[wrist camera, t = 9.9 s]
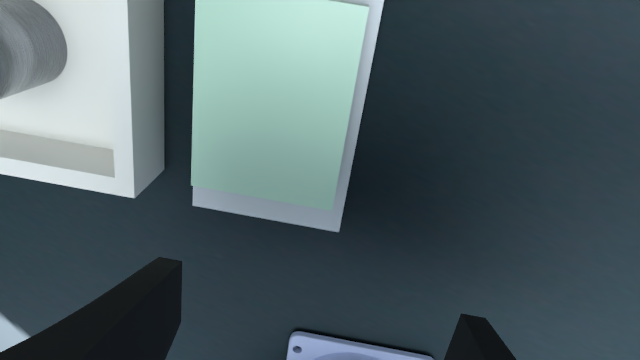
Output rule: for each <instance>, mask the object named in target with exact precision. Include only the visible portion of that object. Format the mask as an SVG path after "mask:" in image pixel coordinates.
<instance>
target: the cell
mask: <svg viewBox="0 0 640 360" xmlns="http://www.w3.org/2000/svg"><path fill="white" fill-rule="evenodd" d="M66 62H67V44H66V40H65V37H64V34H63V32H62V29H61V27H60V26H59V24H58V22H57V21H56V20H55V18H54V17H53V16H52V15H51V14H50V13H49V12H48V11H47V10H46V9H45V8H44V7H43V6H41V5H40V4H38V3H37V2H35V1H33V0H0V99H3V98H6V97H9V96H11V95H14V94H17V93H20V92H23V91H26V90H28V89H31V88H34V87H37V86H40V85H43V84H46V83H48V82H51V81H53V80H54V79H56V78H57V77H58V76H59V75H60V74H61V73H62V71H63V70H64V68H65V65H66Z"/></svg>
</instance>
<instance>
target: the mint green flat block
mask: <svg viewBox="0 0 640 360" xmlns="http://www.w3.org/2000/svg"><path fill="white" fill-rule="evenodd" d="M369 6H370V5H367V4H361V3H355V2H349V1H343V0H195V38H194V79H193V120H192V160H191V185H192V186H197V187H203V188H208V189H214V190H219V191H225V192H230V193H236V194H241V195H247V196H252V197H258V198H263V199H269V200H274V201H280V202H285V203H291V204H296V205H302V206H307V207H313V208H318V209H324V210H329V211H332V209H333V204H334V198H335V193H336V187H337V182H338V176H339V171H340V165H341V160H342V154H343V149H344V143H345V138H346V132H347V127H348V121H349V116H350V110H351V105H352V100H353V94H354V89H355V83H356V78H357V72H358V67H359V61H360V56H361V50H362V45H363V39H364V34H365V28H366V23H367V17H368V12H369Z"/></svg>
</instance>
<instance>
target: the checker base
mask: <svg viewBox="0 0 640 360" xmlns="http://www.w3.org/2000/svg"><path fill="white" fill-rule="evenodd" d="M343 1H349V2H355V3H361V4H367V5H370V6H369V12H368V17H367V23H366V28H365V34H364V39H363V45H362V50H361V56H360V61H359V67H358V72H357V78H356V83H355V89H354V94H353V100H352V105H351V110H350V116H349V121H348V127H347V132H346V138H345V143H344V149H343V154H342V160H341V165H340V171H339V176H338V182H337V187H336V193H335V198H334V204H333V209H332V211H329V210H324V209H318V208H313V207H307V206H302V205H296V204H291V203H285V202H280V201H274V200H269V199H263V198H258V197H252V196H247V195H241V194H236V193H230V192H225V191H219V190H214V189H208V188H203V187H197V186H193V206H198V207H203V208H209V209H214V210H220V211H225V212H231V213H236V214H241V215H247V216H252V217H258V218H263V219H269V220H274V221H280V222H285V223H291V224H296V225H302V226H307V227H312V228H318V229H323V230H329V231H334V232H339V229H340V224H341V219H342V214H343V209H344V204H345V198H346V193H347V188H348V183H349V178H350V173H351V168H352V162H353V157H354V152H355V147H356V142H357V137H358V132H359V127H360V121H361V116H362V111H363V106H364V101H365V96H366V91H367V86H368V80H369V75H370V70H371V65H372V60H373V55H374V50H375V44H376V39H377V34H378V29H379V24H380V19H381V14H382V9H383V3H384V0H343Z"/></svg>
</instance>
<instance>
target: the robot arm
mask: <svg viewBox="0 0 640 360" xmlns="http://www.w3.org/2000/svg"><path fill="white" fill-rule="evenodd" d="M181 291H182V261H178V260H172V259H167V258H162V257H158V258H157V259H155V260H154V261H152V262H151V263H149V264H148V265H146V266H145V267H143V268H142V269H140V270H139V271H137V272H136V273H134V274H133V275H131V276H130V277H128V278H127V279H125V280H124V281H123V282H121V283H120V284H118V285H117V286H115V287H114V288H112V289H111V290H109V291H108V292H106V293H104V294H103V295H101V296H100V297H98V298H97V299H95V300H94V301H92V302H91V303H89V304H88V305H86V306H84V307H83V308H81V309H79V310H78V311H76V312H74V313H73V314H71V315H69V316H68V317H66V318H64V319H63V320H61V321H59V322H58V323H56V324H54V325H52V326H51V327H49V328H47V329H45V330H43V331H42V332H40V333H38V334H36V335H34V336H32V337H30V338H28V339H26V340H25V341H22V342H21V343H18V344H17V345H15V346H12V347H10V348H8V349H6V350H5V351H2V352H0V360H165V358H166V356H167V354H168V351H169V349H170V347H171V345H172V342H173V340H174V337H175V335H176V333H177V330H178V328H179V325H180V323H181ZM295 346H299V347H301V348H297V347H295ZM287 360H434V359H433V358H432V357H430V356H427V355H421V354H416V353H411V352H406V351H400V350H395V349H390V348H385V347H379V346H374V345H369V344H364V343H358V342H353V341H348V340H343V339H337V338H332V337H327V336H322V335H316V334H311V333H306V332H301V331H296V332H293V333H292V334H291V336H290V341H289V347H288V353H287ZM444 360H516V358H515V357H514V356H513V354H512V353H511V352H510V350H509V349H508V348H507V346H506V345H505V344H504V342H503V341H502V340H501V338H500V337H499V335H498V334H497V333H496V331H495V330H494V329H493V327H492V326H491V325H490V323H489V322H488V321H487V320H486V318H482V317H477V316H471V315H466V314H461V315H460V318H459V321H458V323H457V326H456V329H455V332H454V334H453V337H452V340H451V342H450V345H449V348H448V351H447V353H446V356H445V359H444Z"/></svg>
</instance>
